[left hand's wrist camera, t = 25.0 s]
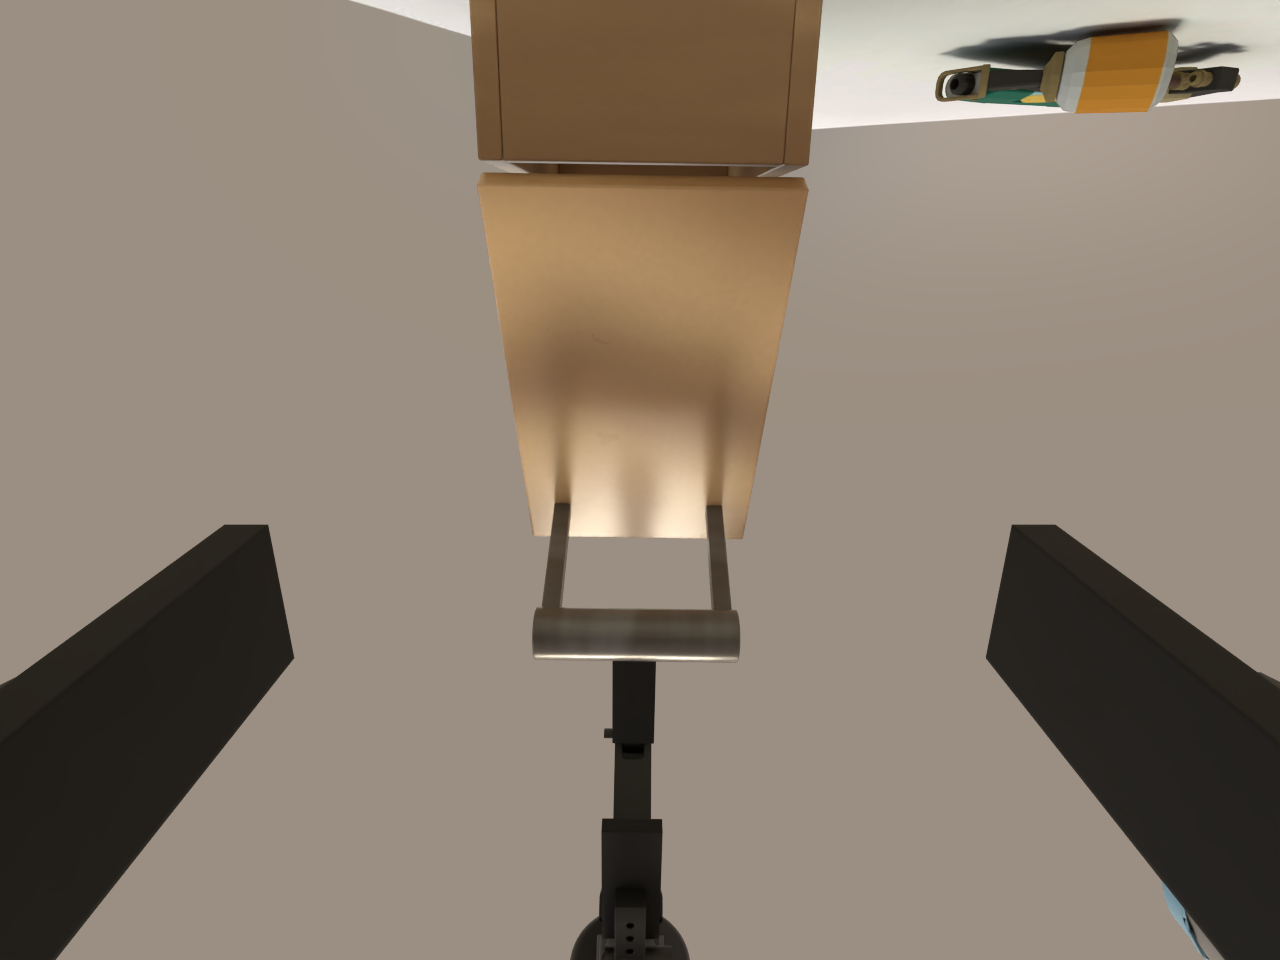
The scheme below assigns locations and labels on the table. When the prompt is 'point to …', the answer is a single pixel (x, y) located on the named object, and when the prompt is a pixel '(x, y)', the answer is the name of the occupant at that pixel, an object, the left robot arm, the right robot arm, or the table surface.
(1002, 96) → the spray gun
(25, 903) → the left robot arm
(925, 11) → the table surface
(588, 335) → the lid
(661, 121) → the chest
